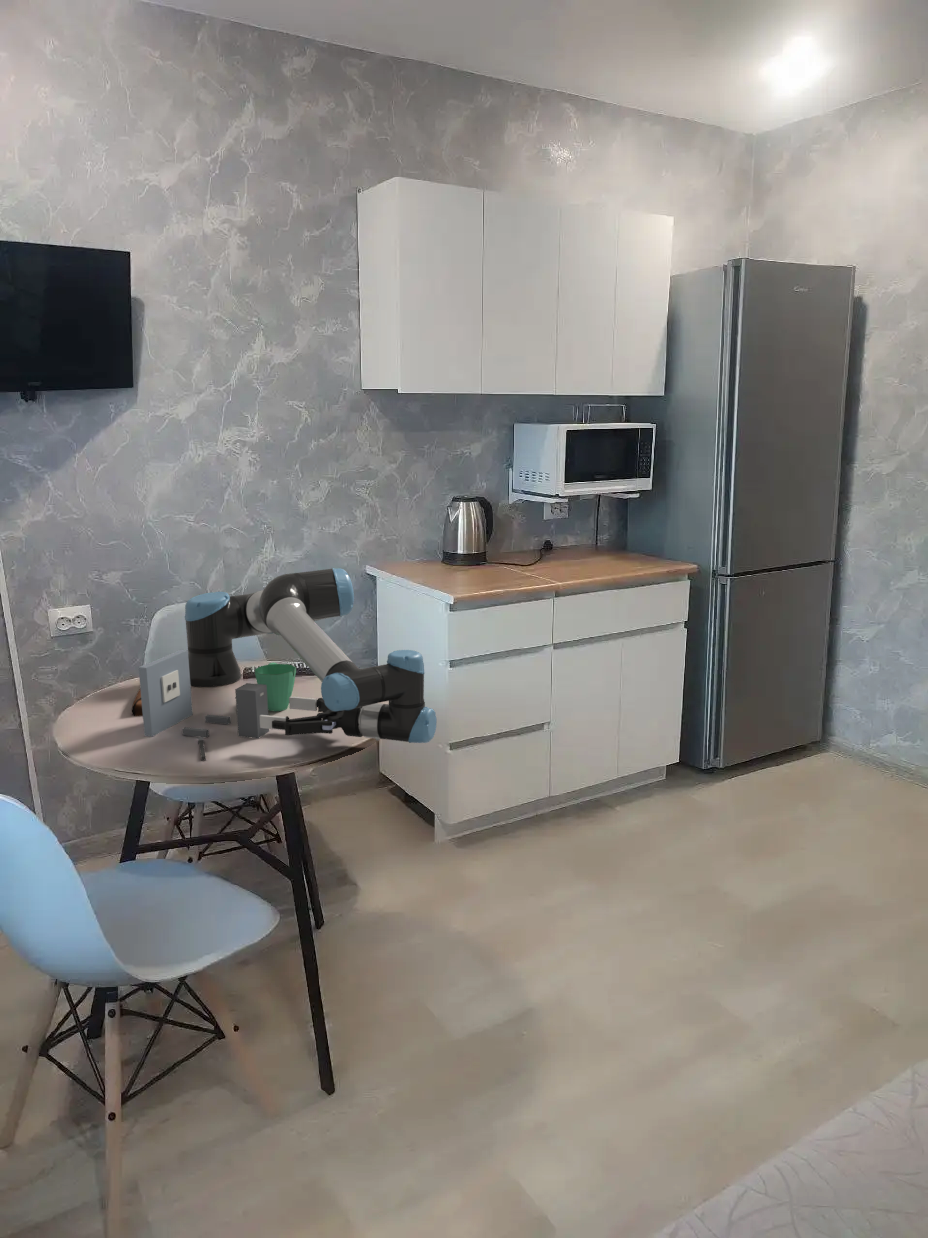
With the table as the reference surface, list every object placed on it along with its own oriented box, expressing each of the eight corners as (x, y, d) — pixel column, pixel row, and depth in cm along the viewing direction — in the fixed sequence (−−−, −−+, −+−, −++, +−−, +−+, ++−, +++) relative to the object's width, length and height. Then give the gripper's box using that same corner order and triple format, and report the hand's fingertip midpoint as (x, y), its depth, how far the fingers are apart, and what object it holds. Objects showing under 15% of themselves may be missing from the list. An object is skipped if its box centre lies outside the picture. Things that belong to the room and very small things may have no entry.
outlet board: (185, 714, 219) (180, 649, 215) (236, 719, 215) (232, 653, 211) (144, 736, 204) (138, 667, 200) (199, 741, 200) (193, 671, 196)
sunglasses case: (169, 713, 219) (152, 691, 217) (144, 729, 218) (126, 708, 216) (173, 692, 236) (158, 672, 234) (150, 707, 236) (134, 687, 234)
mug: (300, 712, 219) (298, 672, 217) (258, 716, 217) (256, 676, 214) (292, 695, 233) (291, 657, 231) (253, 699, 230) (251, 660, 228)
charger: (245, 728, 208) (242, 682, 206) (269, 731, 206) (267, 684, 204) (234, 736, 203) (231, 688, 201) (258, 738, 202) (255, 691, 199)
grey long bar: (198, 741, 200) (197, 737, 200) (203, 740, 200) (203, 736, 200) (200, 760, 189) (200, 756, 188) (206, 760, 189) (206, 755, 189)
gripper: (341, 756, 184) (248, 746, 190) (386, 718, 208) (302, 710, 213) (340, 721, 183) (246, 712, 188) (385, 687, 206) (300, 680, 212)
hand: (275, 711), depth 201 cm, fingers open, 13 cm apart
